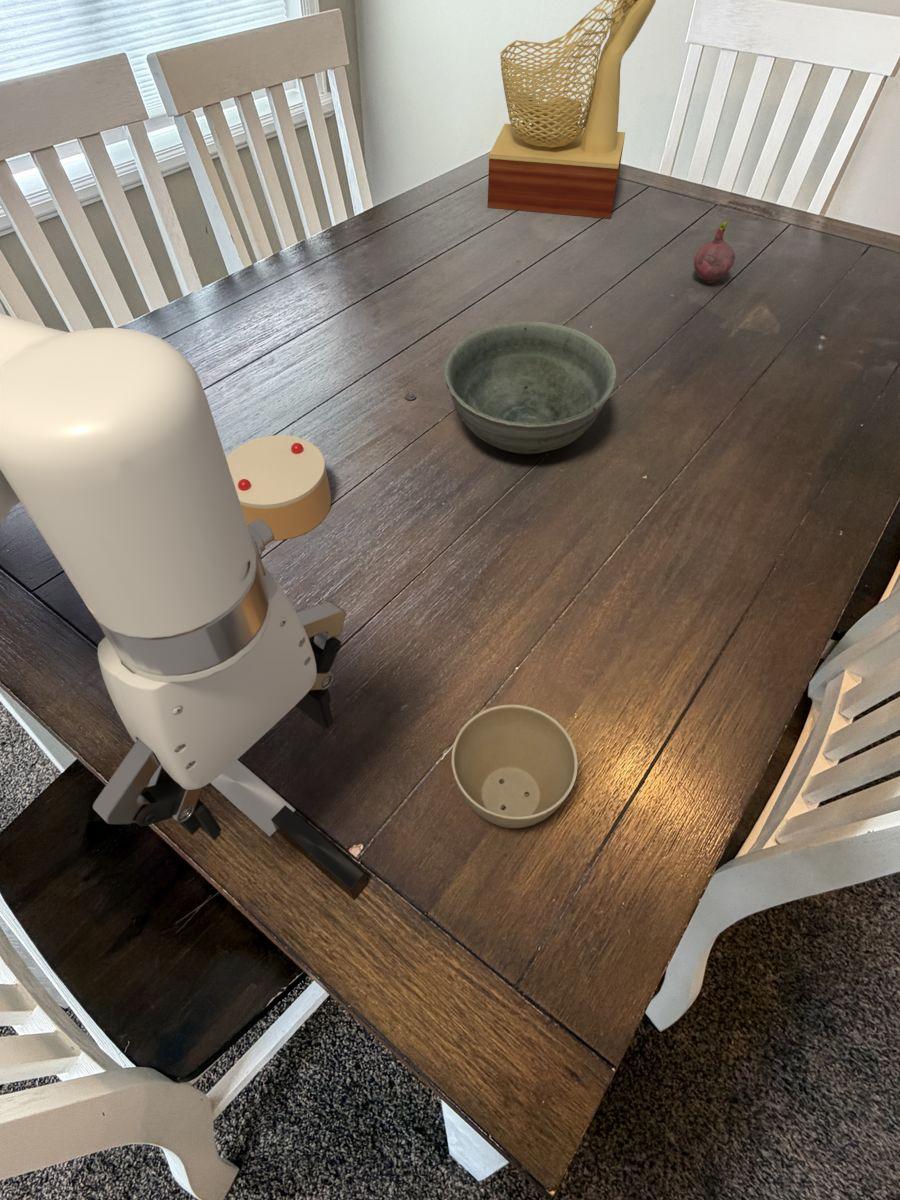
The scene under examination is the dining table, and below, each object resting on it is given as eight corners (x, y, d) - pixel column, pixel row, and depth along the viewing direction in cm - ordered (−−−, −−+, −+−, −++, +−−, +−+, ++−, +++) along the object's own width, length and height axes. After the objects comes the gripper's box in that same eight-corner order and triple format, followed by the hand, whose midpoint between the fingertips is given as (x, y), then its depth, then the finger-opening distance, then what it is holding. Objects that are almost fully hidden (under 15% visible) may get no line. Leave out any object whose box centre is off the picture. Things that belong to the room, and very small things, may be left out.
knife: (348, 907, 58) (344, 897, 56) (180, 756, 66) (171, 743, 64) (373, 877, 59) (370, 866, 57) (206, 733, 68) (198, 719, 66)
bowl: (626, 412, 98) (641, 345, 90) (567, 508, 86) (577, 440, 79) (488, 371, 104) (490, 305, 97) (415, 455, 93) (411, 388, 85)
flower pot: (510, 725, 68) (515, 683, 62) (591, 801, 63) (604, 763, 58) (428, 791, 64) (425, 752, 58) (507, 878, 59) (513, 845, 53)
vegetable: (683, 286, 119) (699, 223, 112) (696, 270, 123) (712, 208, 115) (719, 296, 117) (738, 232, 110) (731, 280, 121) (750, 217, 113)
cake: (208, 510, 87) (193, 467, 82) (283, 458, 92) (273, 416, 87) (278, 556, 82) (266, 514, 77) (352, 498, 88) (345, 456, 83)
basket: (626, 184, 145) (664, -48, 118) (618, 223, 134) (659, -24, 107) (502, 173, 149) (513, -54, 122) (485, 211, 138) (493, -30, 111)
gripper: (268, 470, 40) (316, 651, 53) (-32, 678, 32) (114, 832, 45) (368, 530, 37) (393, 707, 50) (67, 778, 28) (192, 912, 42)
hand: (261, 766), depth 47 cm, fingers open, 9 cm apart
